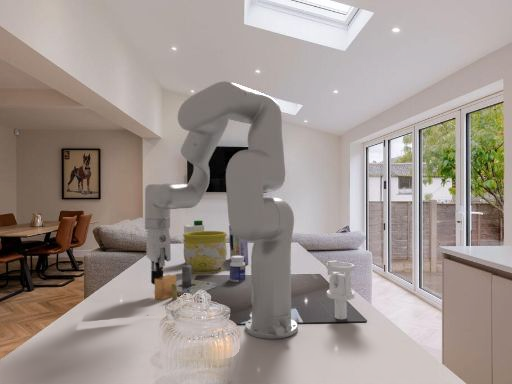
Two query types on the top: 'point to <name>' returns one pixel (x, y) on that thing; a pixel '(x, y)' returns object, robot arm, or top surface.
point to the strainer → (340, 286)
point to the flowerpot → (205, 251)
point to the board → (183, 280)
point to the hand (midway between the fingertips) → (157, 283)
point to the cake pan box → (238, 247)
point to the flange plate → (178, 286)
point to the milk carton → (194, 227)
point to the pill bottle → (237, 269)
